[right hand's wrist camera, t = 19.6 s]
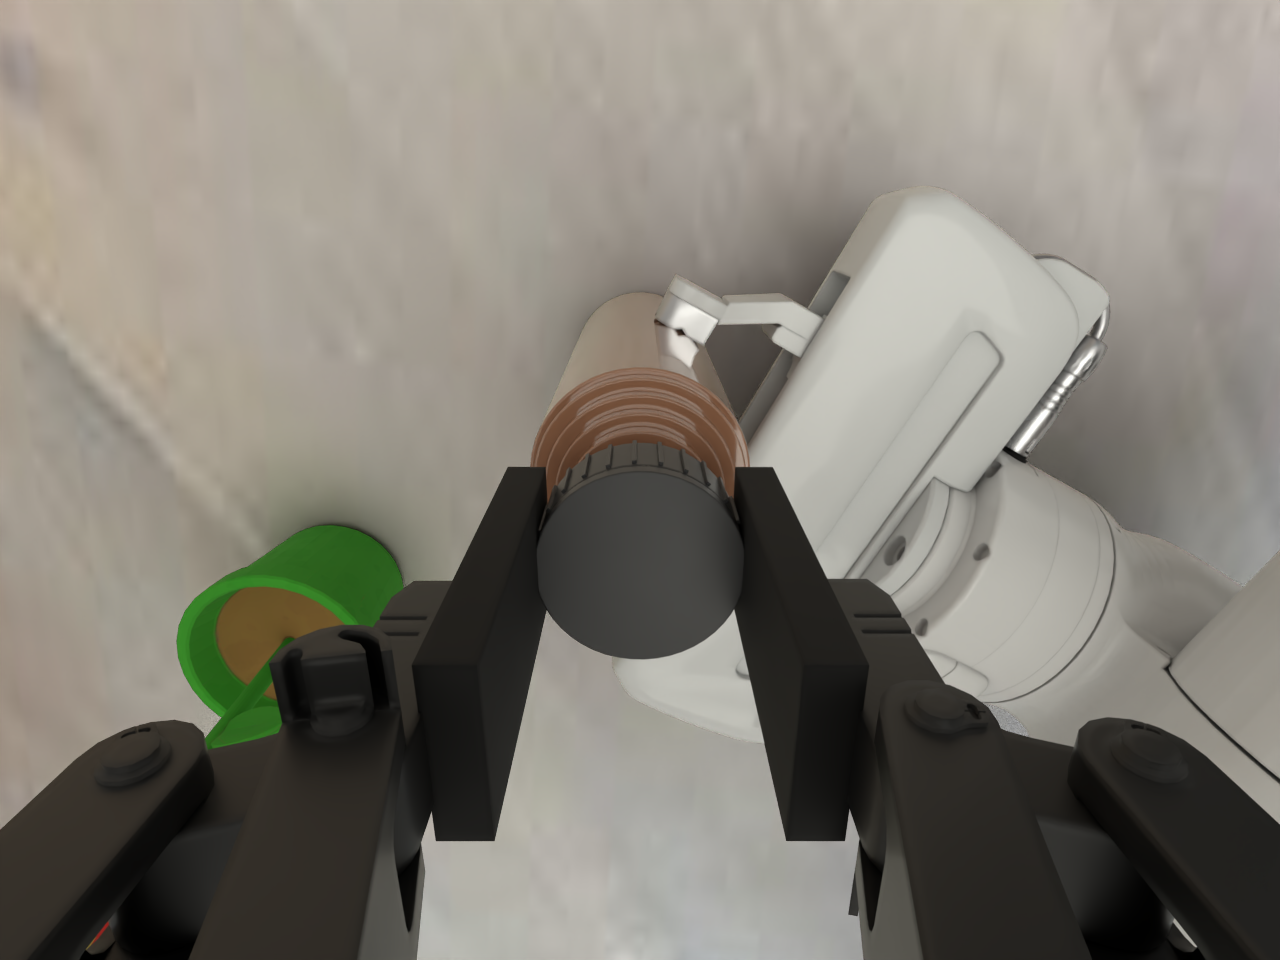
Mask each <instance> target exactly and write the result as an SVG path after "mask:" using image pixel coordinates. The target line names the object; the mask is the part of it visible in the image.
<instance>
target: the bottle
mask: <svg viewBox="0 0 1280 960" xmlns="http://www.w3.org/2000/svg"><path fill="white" fill-rule="evenodd" d="M662 299H663V296H660V295H657V294H653V293H646V292H635V293H628V294H624V295H620V296H617V297H615V298H613V299H611V300H609V301H607V302H606V303H604V304H603V305H602V306H600V307H599V308H598V309H597V310H596V311H595V312H594V313H593V314H592V315H591V316H590V318H589V319H588V320H587V322H586V324H585V326H584V327H583V330H582V332H581V334H580V337H579V339H578V341H577V343H576V346H575V348H574V350H573V353H572V355H571V357H570V360H569V362H568V364H567V366H566V369H565V371H564V373H563V376H562V378H561V380H560V383H559V385H558V387H557V389H556V392H555V394H554V396H553V399H552V401H551V403H550V406H549V408H548V410H547V412H546V415H545V417H544V419H543V422H542V424H541V426H540V429H539V431H538V434H537V436H536V439H535V442H534V446H533V450H532V454H531V464H530V467H546V481H547V501H548V502H549V498H550V495H551V492H552V488H553V486H554V485H556V486H558V484H559V483H560V481H561V480H562V479H563V478H564V477H565V475H566V471H567V469H568V468H569V467H570V468H571V469H572V468H573V467H575V466H576V465H577V464H578V463H580V462H581V461H582V460H584V459H585V456H586V454H588V453H589V454H590V455H592V454H594V453H596V452H598V451H601V450H604V449H606V448H608V445H610V444H612V445H613V446H617V445H622V444H629V443H632V441H633V440H637V443H652V444H657V442H662V445H664V446H668V447H671V448H675V449H677V450H681V448H682V449H685V451H686V453H687V454H688V455H690V456H692V457H694V458H695V459H697V460H699V461H700V462H701V461H702V460H703V461H705V462H706V465H707V468H709V469H710V470H711V472H712V473H713V474H714V475H715V476H716V477H717V478H718V477H721V478H722V480H723V484H724V487H725V490H726V492H727V494H728V495H729V497H730V496H732V497H734V478H735V467H750V457H749V452H748V447H747V443H746V440H745V437H744V435H743V432H742V429H741V427H740V425H739V423H738V420H737V418H736V416H735V413H734V411H733V409H732V407H731V404H730V402H729V400H728V397H727V395H726V393H725V391H724V388H723V386H722V384H721V381H720V379H719V377H718V375H717V372H716V370H715V368H714V365H713V363H712V361H711V359H710V356H709V354H708V352H707V349H706V347H705V345H704V346H703V345H701V344H699V343H697V342H695V341H693V340H692V339H690V338H689V337H687V336H686V335H685V333H684V331H683V329H676V330H675V329H673V328H670V327H668V326H666V325H664V324H663V323H661V322H659V321H658V320H657V319H656V318H655V316H656V315H655V313H656V311H657V309H658V307H659V305H660V303H661V301H662Z"/></svg>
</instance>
